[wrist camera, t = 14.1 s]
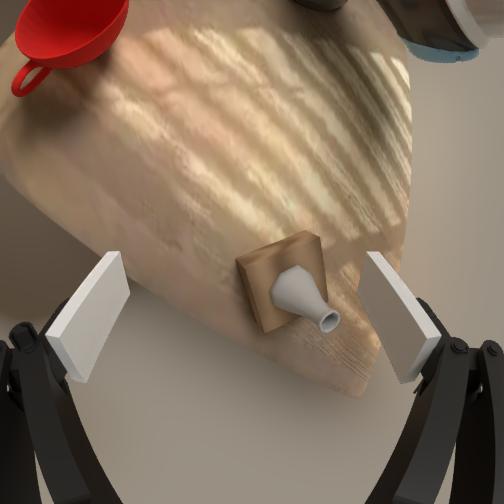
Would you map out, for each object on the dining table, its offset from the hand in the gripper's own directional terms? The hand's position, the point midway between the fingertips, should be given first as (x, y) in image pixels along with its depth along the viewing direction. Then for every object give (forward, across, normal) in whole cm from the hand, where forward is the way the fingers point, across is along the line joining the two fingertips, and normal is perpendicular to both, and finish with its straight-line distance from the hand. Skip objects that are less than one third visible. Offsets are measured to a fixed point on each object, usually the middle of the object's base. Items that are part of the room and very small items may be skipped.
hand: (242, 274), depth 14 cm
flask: (+22, +7, -16) cm, 28 cm away
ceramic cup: (+20, -22, +20) cm, 36 cm away
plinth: (+25, +6, -16) cm, 31 cm away
